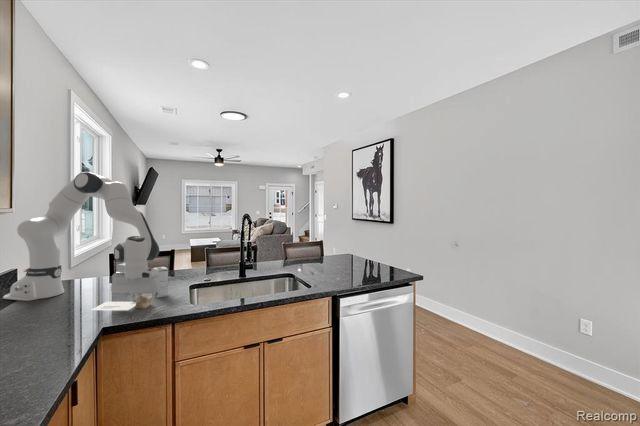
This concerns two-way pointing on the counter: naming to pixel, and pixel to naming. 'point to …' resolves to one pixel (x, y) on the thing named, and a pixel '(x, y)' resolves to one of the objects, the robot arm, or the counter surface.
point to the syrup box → (162, 282)
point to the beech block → (143, 301)
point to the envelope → (115, 306)
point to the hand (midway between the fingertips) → (136, 302)
